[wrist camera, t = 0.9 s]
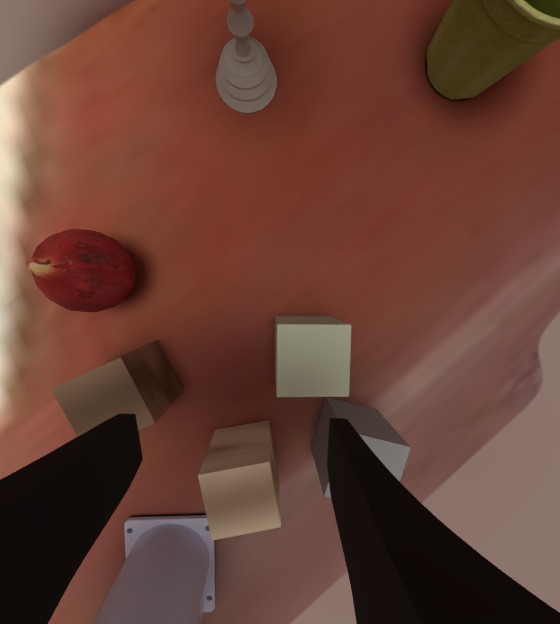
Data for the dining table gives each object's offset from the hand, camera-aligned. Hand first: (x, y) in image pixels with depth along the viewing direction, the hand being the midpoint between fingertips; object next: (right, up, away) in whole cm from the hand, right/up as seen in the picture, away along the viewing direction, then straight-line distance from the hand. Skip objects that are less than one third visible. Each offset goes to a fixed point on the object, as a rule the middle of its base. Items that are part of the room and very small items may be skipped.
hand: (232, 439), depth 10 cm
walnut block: (-10, -1, +14) cm, 17 cm away
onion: (-12, +8, +13) cm, 20 cm away
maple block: (-1, -8, +15) cm, 17 cm away
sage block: (+4, +2, +14) cm, 15 cm away
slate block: (+8, -6, +15) cm, 18 cm away
